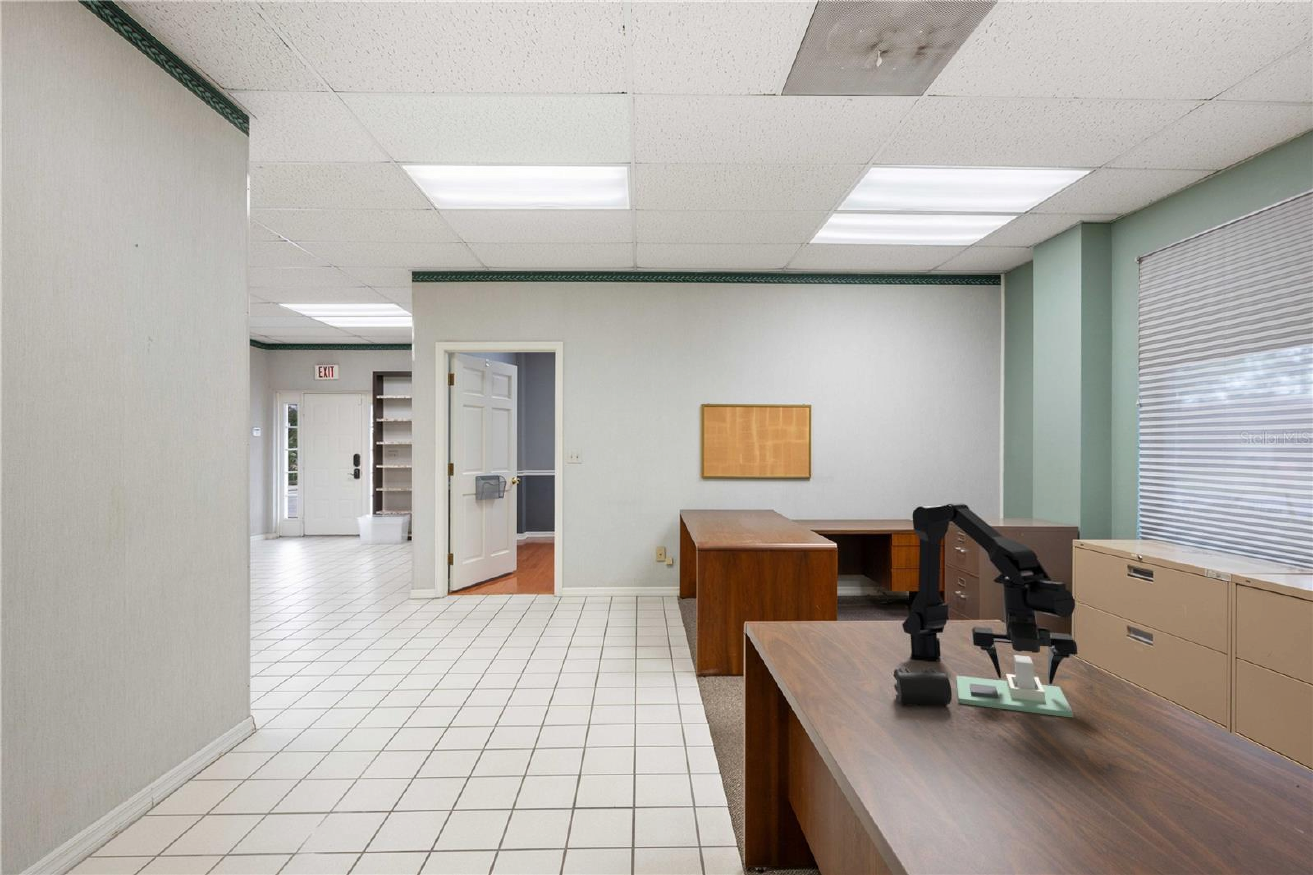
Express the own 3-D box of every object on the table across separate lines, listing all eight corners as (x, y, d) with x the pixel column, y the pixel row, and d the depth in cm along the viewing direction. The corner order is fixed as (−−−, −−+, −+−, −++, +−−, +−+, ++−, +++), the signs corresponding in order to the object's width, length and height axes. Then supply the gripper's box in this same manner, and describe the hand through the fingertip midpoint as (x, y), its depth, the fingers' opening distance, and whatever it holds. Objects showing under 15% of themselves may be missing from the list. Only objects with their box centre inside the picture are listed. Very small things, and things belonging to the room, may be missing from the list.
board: (958, 703, 122) (957, 688, 122) (956, 680, 135) (955, 666, 135) (1073, 717, 114) (1072, 702, 114) (1059, 691, 126) (1058, 677, 126)
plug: (1018, 696, 122) (1016, 662, 123) (1015, 686, 128) (1013, 653, 128) (1035, 698, 121) (1033, 664, 121) (1031, 688, 126) (1029, 655, 127)
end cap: (902, 711, 120) (900, 677, 120) (893, 697, 127) (891, 666, 127) (953, 712, 118) (951, 678, 119) (941, 698, 125) (939, 666, 126)
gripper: (972, 612, 122) (977, 688, 121) (1080, 620, 114) (1086, 701, 113) (969, 600, 132) (974, 670, 131) (1069, 606, 124) (1074, 681, 123)
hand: (1024, 680), depth 124 cm, fingers open, 9 cm apart
